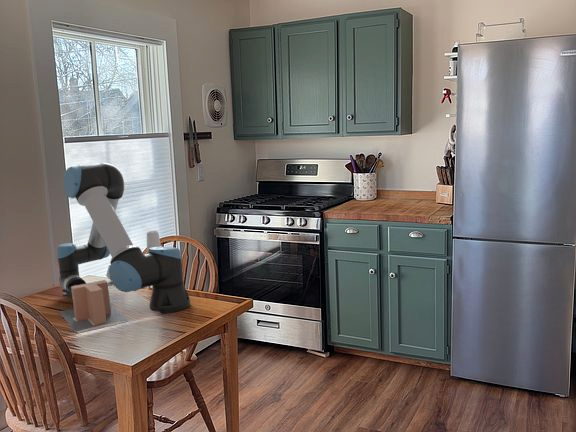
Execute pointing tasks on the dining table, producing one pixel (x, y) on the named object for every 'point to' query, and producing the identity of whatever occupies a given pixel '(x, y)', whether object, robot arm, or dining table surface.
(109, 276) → the die
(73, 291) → the t block
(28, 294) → the dining table surface
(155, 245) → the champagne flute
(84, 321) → the slate board
